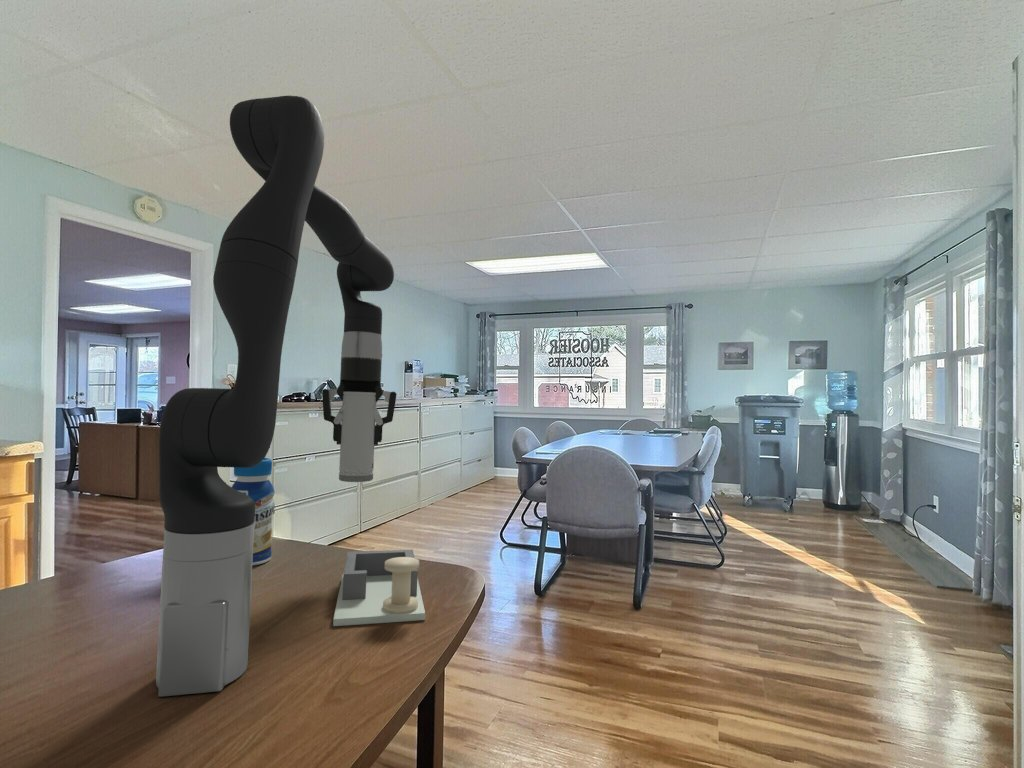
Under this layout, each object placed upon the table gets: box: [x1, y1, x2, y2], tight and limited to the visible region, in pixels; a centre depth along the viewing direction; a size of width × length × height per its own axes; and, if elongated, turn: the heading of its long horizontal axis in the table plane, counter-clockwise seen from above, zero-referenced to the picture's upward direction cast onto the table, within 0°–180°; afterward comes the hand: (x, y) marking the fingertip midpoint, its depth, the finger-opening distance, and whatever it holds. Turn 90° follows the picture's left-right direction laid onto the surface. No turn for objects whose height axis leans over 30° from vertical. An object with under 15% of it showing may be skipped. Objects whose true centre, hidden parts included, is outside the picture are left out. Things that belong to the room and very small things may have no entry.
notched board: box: [332, 549, 426, 627], centre depth 87 cm, size 20×13×8 cm, turn 14°
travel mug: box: [338, 380, 377, 483], centre depth 101 cm, size 6×7×20 cm
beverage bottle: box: [231, 457, 276, 567], centre depth 104 cm, size 8×8×20 cm
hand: (357, 444), depth 101 cm, fingers closed on travel mug, 6 cm apart
